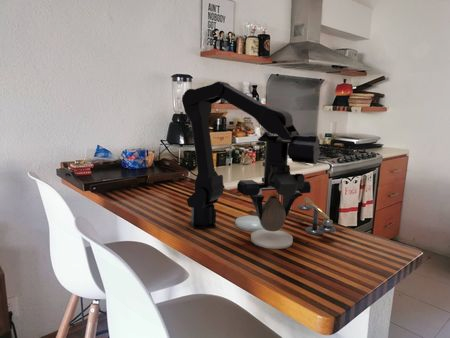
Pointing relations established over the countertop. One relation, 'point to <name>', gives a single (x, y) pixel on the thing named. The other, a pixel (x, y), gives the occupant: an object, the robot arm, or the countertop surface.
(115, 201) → the countertop surface
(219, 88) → the robot arm
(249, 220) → the white round plate
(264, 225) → the vase
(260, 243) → the dish low
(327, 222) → the balance
